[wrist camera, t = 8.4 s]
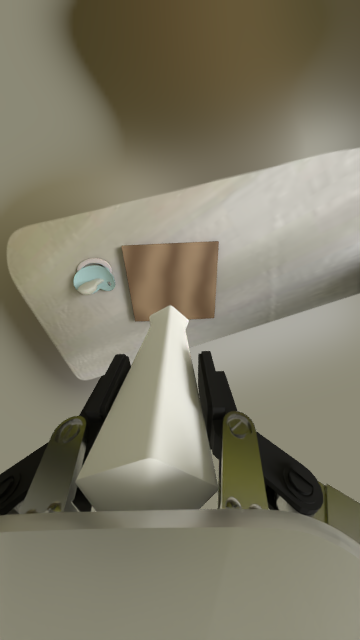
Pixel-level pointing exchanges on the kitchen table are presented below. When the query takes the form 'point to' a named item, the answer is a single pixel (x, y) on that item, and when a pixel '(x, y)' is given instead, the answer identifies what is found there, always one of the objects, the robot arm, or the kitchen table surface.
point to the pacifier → (93, 277)
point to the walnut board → (172, 278)
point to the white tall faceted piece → (153, 431)
